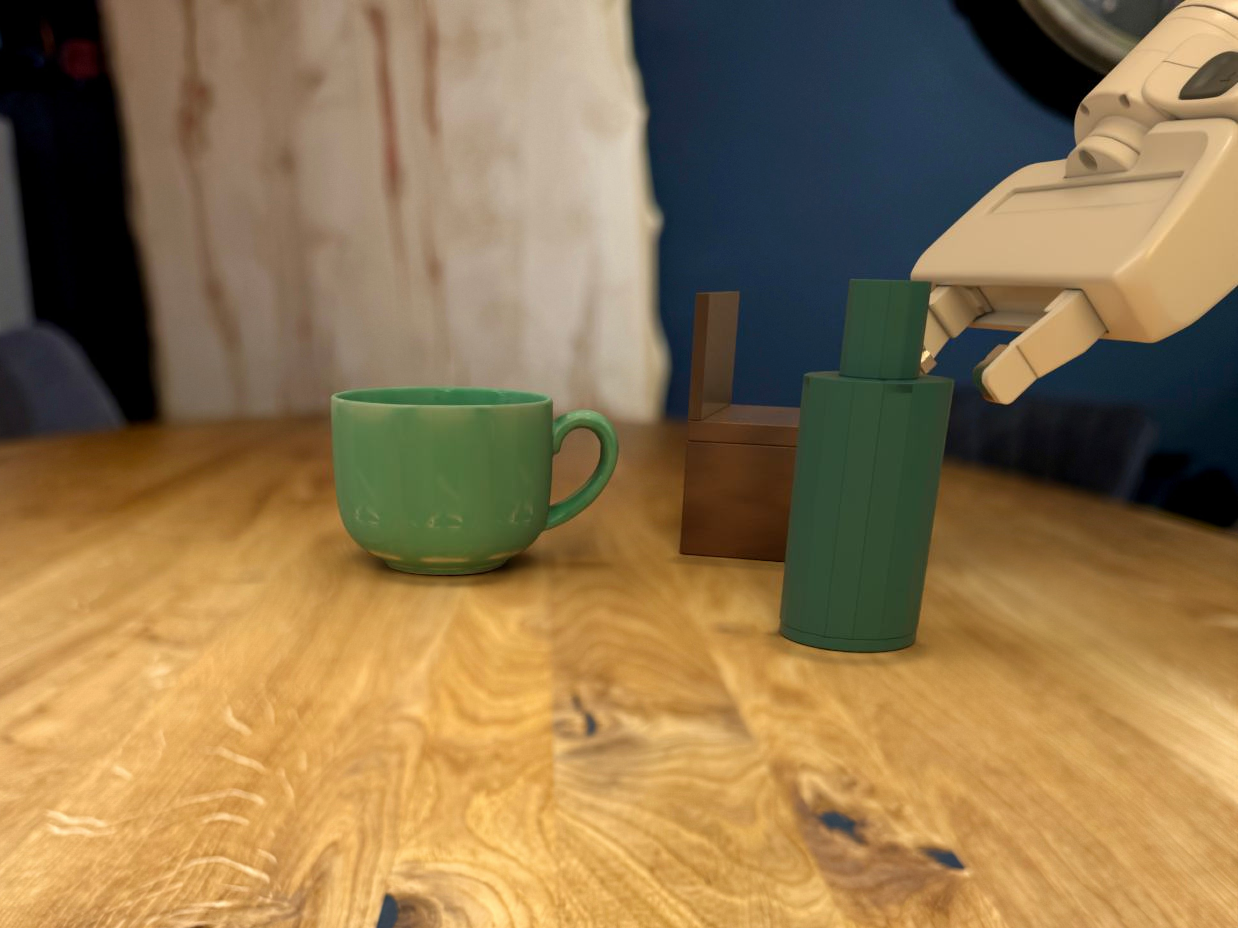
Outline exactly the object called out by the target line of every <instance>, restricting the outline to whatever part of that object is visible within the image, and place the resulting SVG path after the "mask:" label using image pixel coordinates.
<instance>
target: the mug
mask: <svg viewBox="0 0 1238 928" xmlns="http://www.w3.org/2000/svg"><path fill="white" fill-rule="evenodd" d="M330 424H331V445H332V462H333V475H334V476H333V477H334V486H335V495H336V502H337V508H338V513H339V515H340V519H341V522H342V524H343V527H344V528H345V531H346V532H347V533H348V535H349V536H350V537H351V539H352V541H354V543H356V544H357V545H358V546H359V547H360V548H361V549H363V550H364V551H366V553H369V554H371V555H372V556H374V557H375V558H378V559H381V560H383V561H384V562H385V564H386V565H387V566H388V567H389V568H391V569H393V570H396V571H400V572H403V573H409V574H410V573H411V574H417V575H436V576H437V575H440V576H448V575H449V576H450V575H456V576H457V575H467V574H468V575H470V574H478V573H485V572H489V571H492V570H496V569H498V568H500V567H502V566H503V565H504V564H505V563H506V562H507V560H510V559H512V558H513V557H516V556H517V555H519V554H521V553H523V552H525V551H526V550H527V549H529V547H531V546H532V545H533V544H534V543H535V542H536V540H537V539H538V538H539V536H540V535H541V534H542V533H543V532H545V531H550V530H552V529H555V528H557V527H559V526H562V525H564V524H565V523H567V522H570V521H571V520H572V519H574V518H575V517H576V516H579V515H580V514H581V513H582V512H584V511H585V510H586V509H587V508H588V507H590V506H591V505H592V504H593V503H594V502H595V501H596V500H597V498H598V497H599V496H600V495H601V493H602V492H603V491H604V489H606V487H607V485H608V483H609V482H610V480H611V478H612V476H613V474H614V471H615V469H616V467H617V464H618V458H619V453H620V446H619V440H618V435H617V432H616V429H615V428H614V426H613V425H612V423H611V421H610V420H609V419H608V418H607V417H606V416H605V415H603V414H602V413H600V412H598V411H595V410H590V409H576V410H572V411H568V412H566V413H563V414H562V415H560V416H557V417H556V418H555V419H554V401H553V399H552V397H550V396H548V395H546V394H543V393H538V392H533V391H525V390H515V389H506V388H493V387H492V388H491V387H490V388H489V387H475V386H474V387H473V386H472V387H470V386H396V387H393V386H392V387H378V388H377V387H376V388H364V389H354V390H353V389H351V390H345V391H341V392H337V393H334V394H332V395H331V397H330ZM578 429H587V430H589V431H590V432H592V433H594V434H595V437H597V439H598V441H599V444H600V445H599V446H600V449H599V459H598V462H597V465H596V467H595V469H594V471H593V473H592V474H591V475H590V476H589V478H588V479H587V480H586V481H585V483H584V484H582V485H581V486H580V487H579V488H578V489H576V490H575V491H574V492H573V493H571V494H570V495H569V496H567V497H566V498H564V499H562V500H560V501H558V502H555V503H553V504H551V496H552V495H551V494H552V485H553V484H552V479H553V459H554V456H555V455H558V454H559V453H560V451H561V447H562V444H563V441H564V439H565V438H566V437H567V435H568V434H569V433H571V432H573V431H574V430H578Z"/></svg>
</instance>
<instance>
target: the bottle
mask: <svg viewBox="0 0 1238 928" xmlns="http://www.w3.org/2000/svg"><path fill="white" fill-rule="evenodd" d="M931 286H932V282H931V281H911V280H903V279H868V278H865V279H862V278H850V279H849V281H848V291H847V300H846V307H845V317H844V328H843V329H844V330H843V335H842V345H841V352H840V353H841V354H840V363H839V370H829V371H828V370H824V371H823V370H822V371H809V372H806V373H804V374H803V378H802V380H803V381H802V388H801V400H800V407H799V408H800V417H799V427H798V437H797V447H796V457H795V467H794V477H793V487H792V497H791V507H790V517H789V527H788V537H787V547H786V557H785V562H784V568H783V578H782V589H781V598H780V607H779V617H778V618H779V632H780V634H781V636H783V637H785V638H787V639H788V640H790V641H793V642H795V643H797V644H802V645H804V646H808V647H813V648H818V649H823V650H830V651H840V652H853V653H880V652H890V651H896V650H901V649H905V648H908V647H910V646H912V645H913V644H914V643H915V642H916V638H917V631H918V628H919V623H920V616H921V609H922V604H923V597H924V590H925V583H926V577H927V569H928V562H929V556H930V549H931V542H932V535H933V529H934V522H935V515H936V508H937V500H938V496H939V488H940V481H941V475H942V468H943V461H944V455H945V449H946V441H947V434H948V427H949V422H950V421H949V420H950V414H951V408H952V401H953V395H954V387H955V379H954V378H950V377H947V376H938V375H930V374H926V375H921V374H920V366H921V359H922V352H923V344H924V337H925V330H926V322H927V315H928V308H929V300H930V293H931Z"/></svg>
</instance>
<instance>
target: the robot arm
mask: <svg viewBox="0 0 1238 928" xmlns="http://www.w3.org/2000/svg"><path fill="white" fill-rule="evenodd" d="M1075 113H1076V114H1075V117H1074V123H1073V124H1074V125H1073V126H1074V127H1073V129H1074V130H1073V132H1074V140H1075V145H1076V146H1075V147H1074V148H1073V149H1072V150H1071V151H1070V152H1069V154H1068V155H1067V157H1066V158H1063V159H1059V160H1051V161H1043V162H1035V163H1033V164H1029V165H1026V166H1024V167H1022V168H1019V169H1018V170H1016V171H1014V172H1013V173H1012V174H1010V175H1009V176H1007V177H1006V178H1005V179H1002V181H1001V182H999V183H998V184H997V185H996V186H995V187H993V188H992V189H990V191H989V192H987V193H986V194H985V195H984V196H983V197H982V198H980V200H978V202H976V203H975V204H973V206H971V208H970V209H968V211H966V212H965V213H964V214H963V215H962V216H961V217H959V218H958V220H956V221H955V222H954V223H953V224H952V225H951V226H950V227H949V228H948V229H947V230H946V231H945V232H943V234H941V236H939V237H938V238H937V239H936V240H934V242H933V243H932V244H931V245H930V246H929V247H928V248H927V249H925V251H924V252H923V253H922V254H921V255H920V256H919V258H918V259H917V261H916V263H915V265H914V267H912V269H911V272H910V281H931V282H932V286H931V293H930V300H929V308H928V315H927V322H926V330H925V337H924V344H923V352H922V359H921V366H920V374H921V375H928V373H929V372H931V370H932V369H933V368H935V367H936V365H938V362H937V361H936V360H935V357H936V356H937V355H938V354H939V352H940V351H941V350H942V348H943V347H944V346H945V345H946V343H947V342H948V341H949V339H955V338H957V337H958V336H960V334H961V333H962V332H963V331H965V330H966V329H967V328H974V329H985V330H997V331H1006V332H1007V331H1008V332H1018V333H1019V332H1020V333H1021V334H1019V335H1018V336H1017V337H1015V338H1014V339H1013V340H1012V341H1010V342H1009V343H1008V344H1003V343H998V345H996V346H995V347H994V348H993V349H992V350H991V351H990V352H989V353H988V354H986V357H985V358H984V360H982V361H980V362H978V364H977V365H976V366H975V367H974V368H973V369H972V373H971V382H972V383H973V385H974V386H975V388H976V389H978V390H979V392H980V395H981V396H982V398H983V399H984V400H986V401H988V402H991V403H995V404H1002V405H1010V404H1012V403H1013V402H1015V400H1016V399H1017V398H1019V396H1020V395H1022V394H1023V393H1024V392H1026V390H1027V389H1028V388H1029V387H1030V386H1032V384H1033V383H1034V382H1035V381H1036V380H1037V379H1041V378H1042V377H1044V376H1045V375H1046V376H1047V374H1049V373H1051V372H1052V371H1054V370H1056V369H1058V368H1060V367H1061V366H1063V365H1065V364H1066V363H1068V362H1070V361H1072V360H1074V359H1075V358H1077V357H1079V356H1081V355H1083V354H1084V353H1085V352H1087V350H1089V348H1091V347H1092V346H1093V345H1094V344H1095V343H1096V342H1097V341H1098V340H1100V339H1101V340H1112V341H1123V342H1125V341H1126V342H1137V343H1143V344H1154V343H1157V342H1160V341H1162V340H1164V339H1166V338H1168V337H1170V336H1172V335H1174V334H1176V333H1178V332H1179V331H1182V330H1184V329H1185V328H1188V327H1189V326H1191V325H1192V324H1194V323H1195V322H1197V321H1198V320H1199V319H1200V318H1202V316H1204V315H1205V314H1206V313H1208V312H1209V311H1210V310H1211V309H1213V307H1215V306H1216V305H1217V304H1218V303H1220V302H1221V301H1222V300H1223V299H1224V298H1225V297H1226V296H1228V295H1229V294H1230V293H1231V292H1232V291H1233V290H1234V289H1235V288H1236V287H1237V286H1238V0H1184V1H1182V2H1180V3H1179V4H1178V5H1177V6H1175V7H1174V9H1171V11H1169V12H1168V14H1166V15H1165V16H1164V18H1163V19H1162V20H1161V21H1159V22H1158V24H1157V25H1155V27H1154V28H1152V29H1151V30H1150V31H1149V33H1148V34H1147V35H1146V36H1145V37H1144V38H1143V39H1142V40H1140V42H1139V43H1138V44H1137V45H1136V46H1135V47H1134V48H1133V49H1132V50H1130V52H1129V53H1127V55H1125V57H1124V58H1123V59H1121V61H1119V63H1118V64H1117V65H1116V66H1115V67H1114V68H1113V69H1112V70H1111V71H1110V72H1109V73H1107V75H1106V76H1105V77H1104V78H1102V79H1101V81H1100V82H1099V83H1098V84H1097V85H1096V86H1095V87H1094V88H1093V89H1091V91H1090V92H1088V94H1087V95H1086V96H1085V97H1084V98H1083V99H1082V101H1080V103H1079V105H1078V107H1077V110H1076V112H1075Z"/></svg>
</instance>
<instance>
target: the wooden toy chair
mask: <svg viewBox="0 0 1238 928" xmlns="http://www.w3.org/2000/svg"><path fill="white" fill-rule="evenodd" d="M740 293H741V292H740V291H735V290H734V291H733V290H732V291H729V290H727V291H709V292H696V294H695V303H694V304H695V305H694V321H693V337H692V350H691V351H692V353H691V366H690V382H689V397H688V412H687V413H688V414H687V430H686V445H685V446H686V447H685V462H684V475H683V476H684V477H683V492H682V509H681V523H680V539H679V554H683V555H695V556H696V555H697V556H707V557H708V556H709V557H718V558H719V557H721V558H733V559H746V560H758V561H759V560H760V561H773V562H784V563H785V557H786V547H787V537H788V527H789V517H790V507H791V497H792V487H793V477H794V467H795V457H796V447H797V437H798V427H799V417H800V407H791V406H790V407H789V406H774V405H773V406H772V405H771V406H770V405H750V404H734V403H733V404H732V397H733V396H732V395H733V385H734V383H733V382H734V371H735V358H736V357H735V356H736V346H737V345H736V344H737V332H738V320H739V319H738V318H739V307H740Z"/></svg>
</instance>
